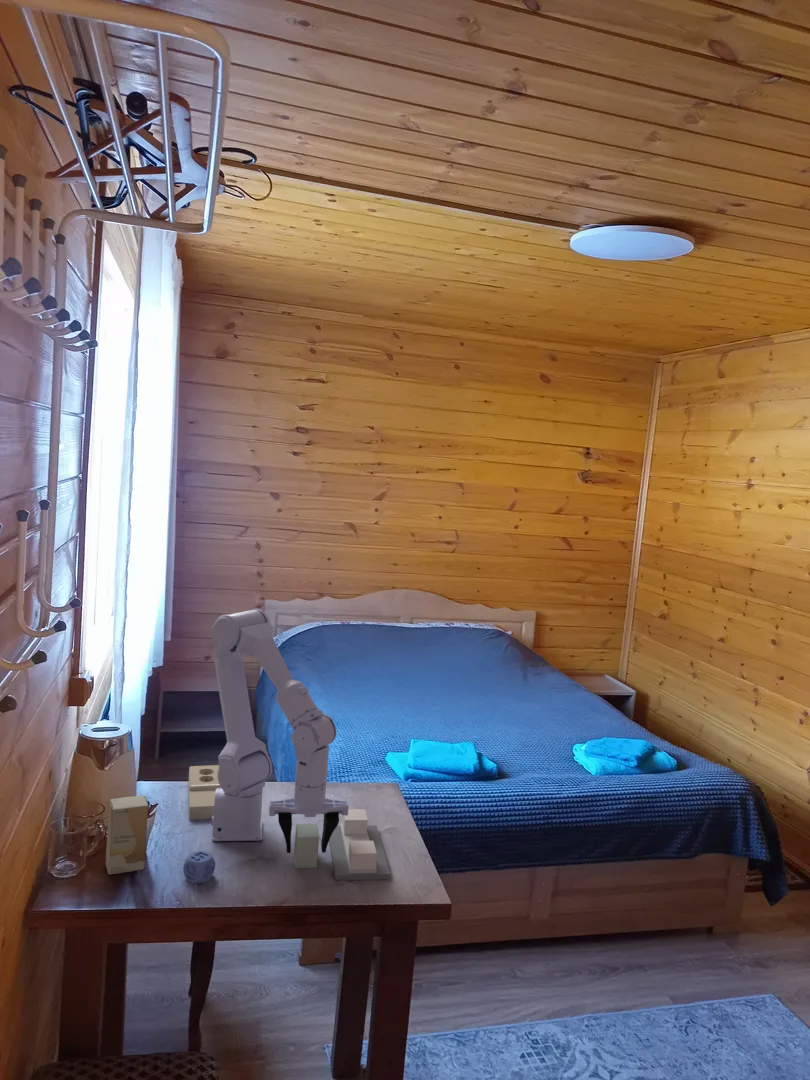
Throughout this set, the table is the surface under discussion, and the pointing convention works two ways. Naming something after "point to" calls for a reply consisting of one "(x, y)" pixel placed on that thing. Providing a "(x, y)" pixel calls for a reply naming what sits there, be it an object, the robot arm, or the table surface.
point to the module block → (306, 845)
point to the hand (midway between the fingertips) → (306, 850)
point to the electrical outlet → (202, 791)
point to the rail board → (342, 860)
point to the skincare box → (126, 834)
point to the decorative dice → (199, 867)
